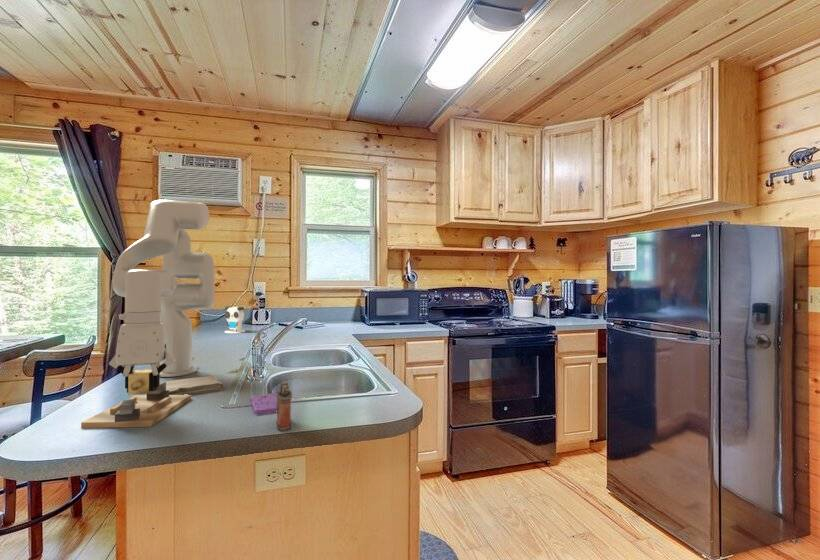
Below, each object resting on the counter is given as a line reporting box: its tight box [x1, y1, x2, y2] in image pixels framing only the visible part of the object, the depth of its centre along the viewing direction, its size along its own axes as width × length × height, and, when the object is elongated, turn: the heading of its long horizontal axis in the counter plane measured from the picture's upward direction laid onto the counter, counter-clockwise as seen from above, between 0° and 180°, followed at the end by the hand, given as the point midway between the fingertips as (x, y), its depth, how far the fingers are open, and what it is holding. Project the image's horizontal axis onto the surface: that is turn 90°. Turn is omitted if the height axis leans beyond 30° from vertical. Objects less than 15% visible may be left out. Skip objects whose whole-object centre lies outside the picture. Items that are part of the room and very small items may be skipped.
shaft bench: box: [80, 381, 192, 429], centre depth 100 cm, size 20×15×5 cm
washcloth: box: [164, 375, 225, 395], centre depth 120 cm, size 12×18×3 cm, turn 130°
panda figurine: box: [224, 305, 246, 334], centre depth 234 cm, size 12×11×15 cm
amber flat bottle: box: [275, 381, 293, 433], centre depth 93 cm, size 8×3×10 cm, turn 21°
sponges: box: [250, 392, 277, 415], centre depth 107 cm, size 7×13×2 cm, turn 27°
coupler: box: [127, 369, 152, 396], centre depth 100 cm, size 9×4×5 cm, turn 15°
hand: (142, 389), depth 100 cm, fingers closed on coupler, 4 cm apart
